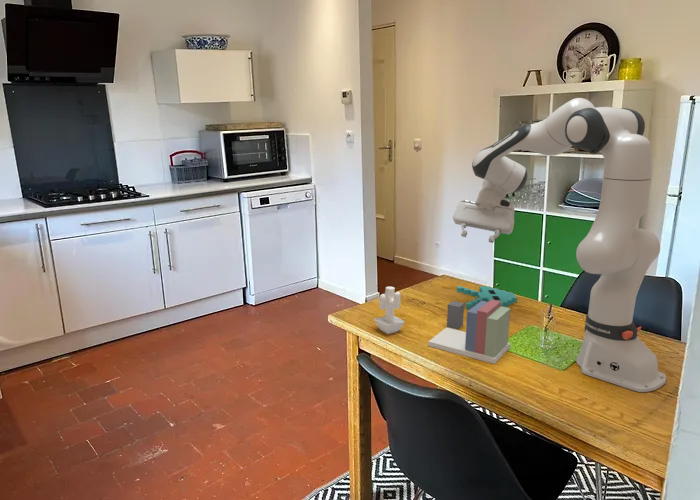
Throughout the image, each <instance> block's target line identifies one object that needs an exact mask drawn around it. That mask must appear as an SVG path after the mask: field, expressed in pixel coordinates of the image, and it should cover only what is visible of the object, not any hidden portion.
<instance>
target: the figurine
mask: <svg viewBox="0 0 700 500" xmlns="http://www.w3.org/2000/svg"><path fill="white" fill-rule="evenodd" d="M395 289H396V288H395V287H394V286H385V291H384V293H382V294H380V295H379V302H378V304H379V310H382V311H383V310H385V311H384V315H385V316H384V315H383V316H379V317H375V318H374V319H373V320H374V322H375V323H376V326H377V327H378V328H379V331H381V332H383V333H385V334H387V335H389V334H393V333H394V334H395V333H398V332H399V331H400V330H401V329H402V327H403V325H404V323H405V322H406V321H405V320H403V319H402V318H399V317H397V316H396V315H395V309H396V310H399V309H400V307H401V304H402V303H401V299H402V298H401V297H402V295H401V292H400V291H396V292H395Z"/></svg>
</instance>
